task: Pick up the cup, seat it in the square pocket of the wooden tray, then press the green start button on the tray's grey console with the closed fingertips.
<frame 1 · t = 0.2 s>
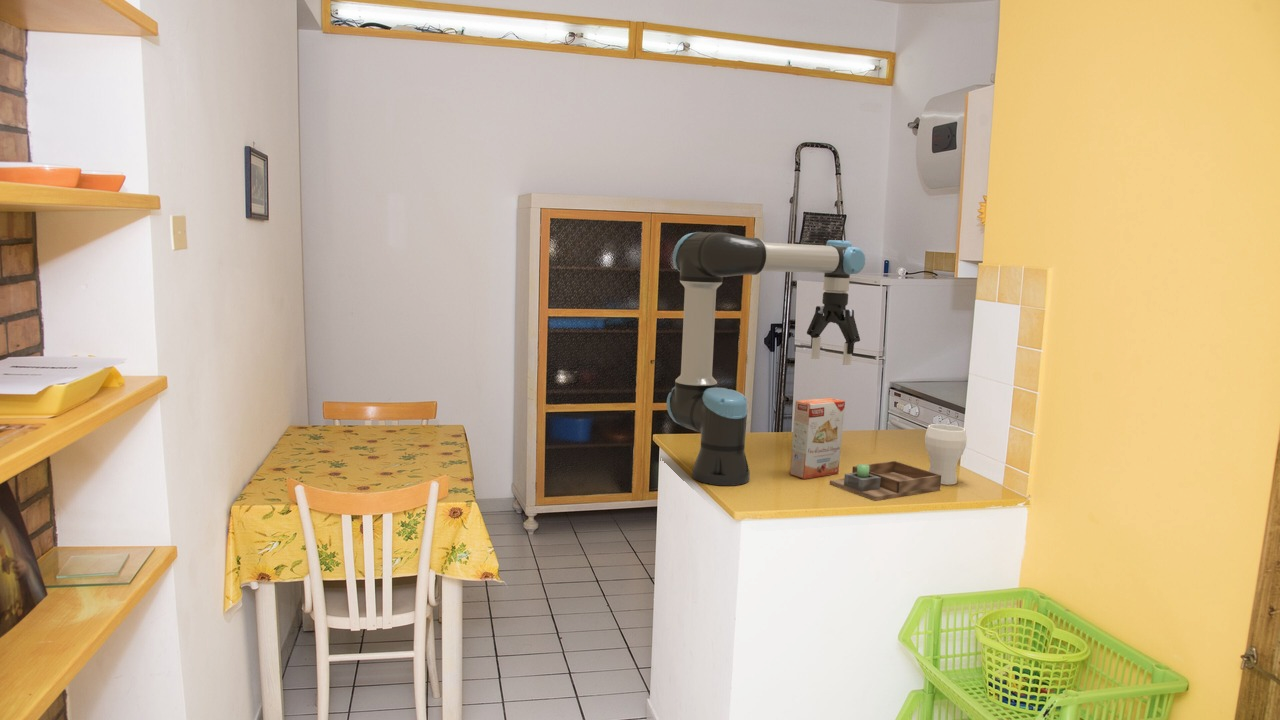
hand: (830, 361, 258), 28 cm above the table, fingers open, 13 cm apart
cup: (941, 481, 232), on the table
cracker box: (814, 475, 234), on the table
wooden tray: (884, 487, 224), on the table
start button: (862, 472, 219), point 5 cm above the table, slide at 0.0 cm
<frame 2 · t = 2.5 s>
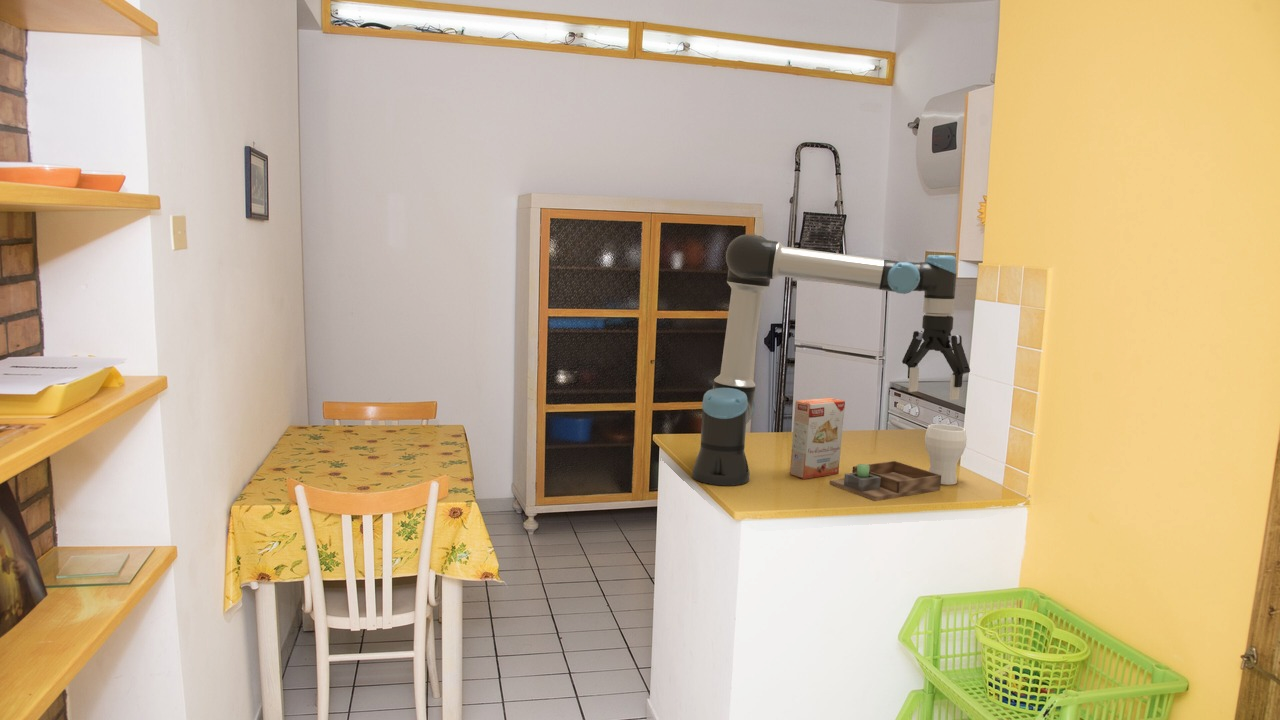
hand: (933, 395, 223), 25 cm above the table, fingers open, 13 cm apart
nothing on the table moved.
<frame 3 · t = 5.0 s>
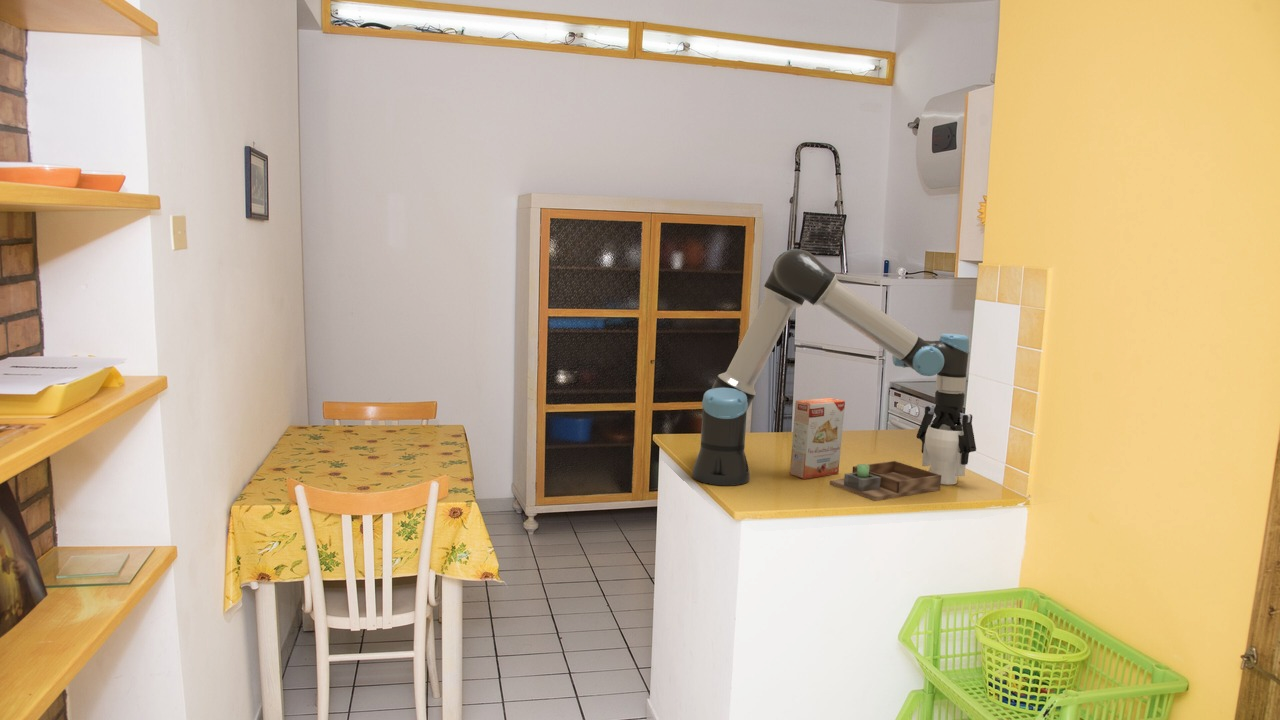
hand: (942, 470, 232), 3 cm above the table, fingers closed on cup, 11 cm apart
cup: (941, 481, 232), on the table, touching gripper
everything else where it was.
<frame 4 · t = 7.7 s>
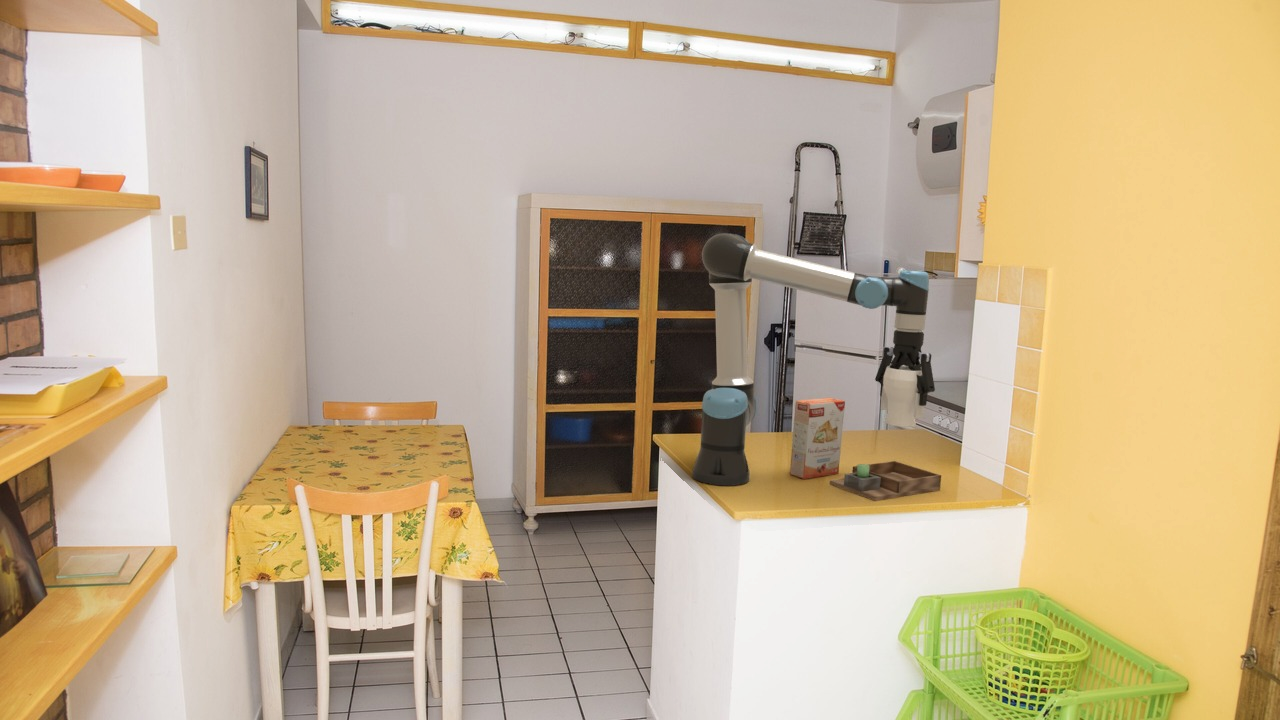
hand: (901, 413, 224), 20 cm above the table, fingers closed on cup, 11 cm apart
cup: (900, 425, 224), point 16 cm above the table, touching gripper
everything else where it was.
when the fingers open (7 cm above the table, at t = 10.8 s): cup drops 3 cm, resting on wooden tray.
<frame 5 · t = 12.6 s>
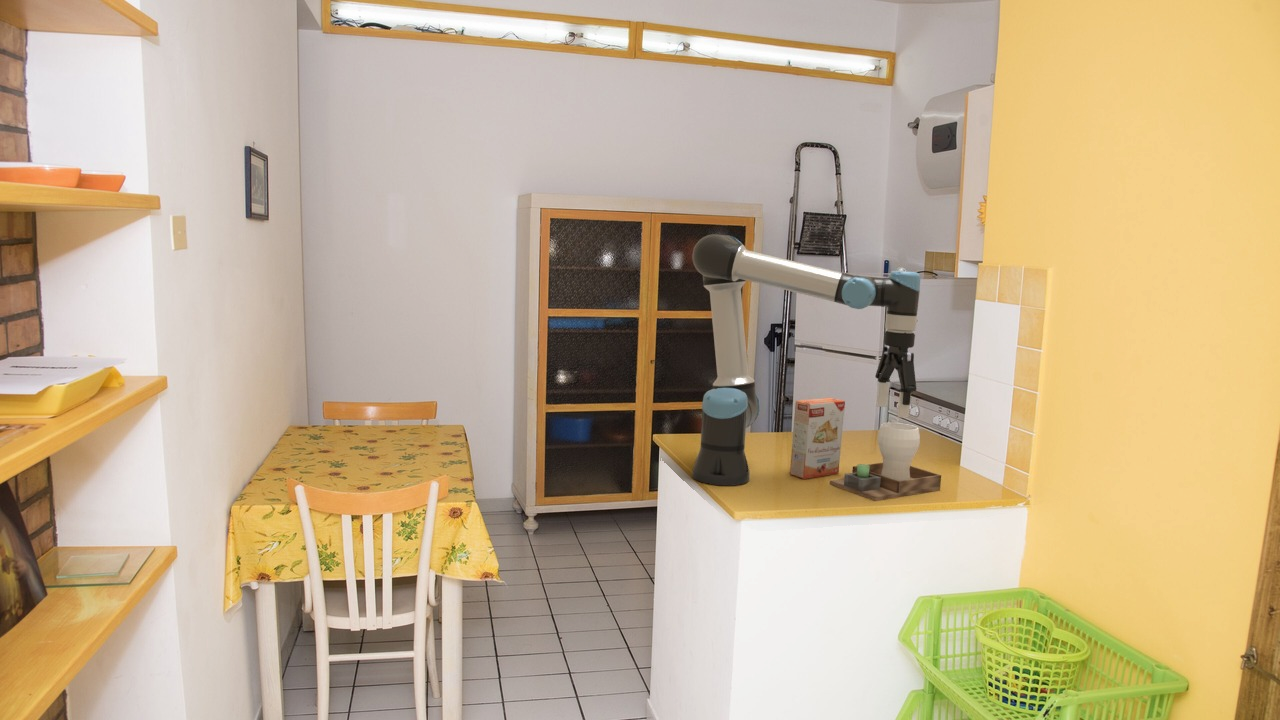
hand: (892, 411, 222), 20 cm above the table, fingers open, 13 cm apart
cup: (894, 482, 226), point 1 cm above the table, touching wooden tray
everything else where it was.
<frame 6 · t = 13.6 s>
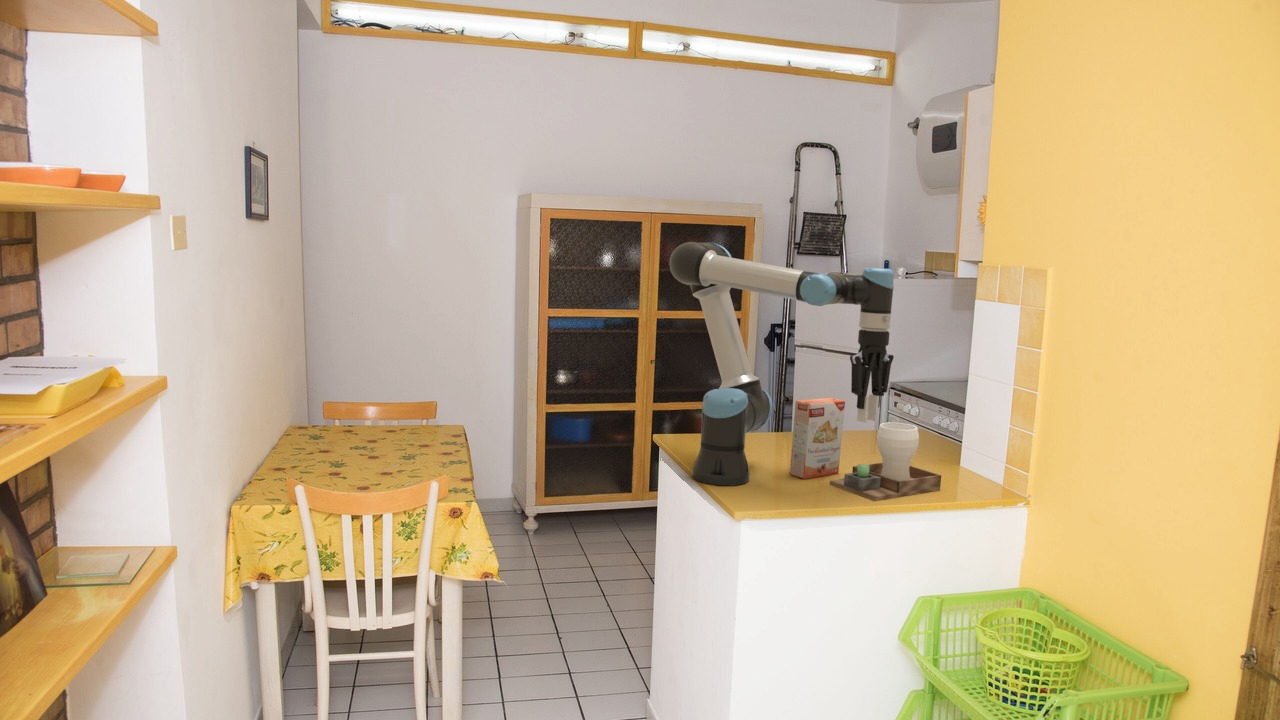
hand: (867, 420, 217), 19 cm above the table, fingers open, 3 cm apart
nothing on the table moved.
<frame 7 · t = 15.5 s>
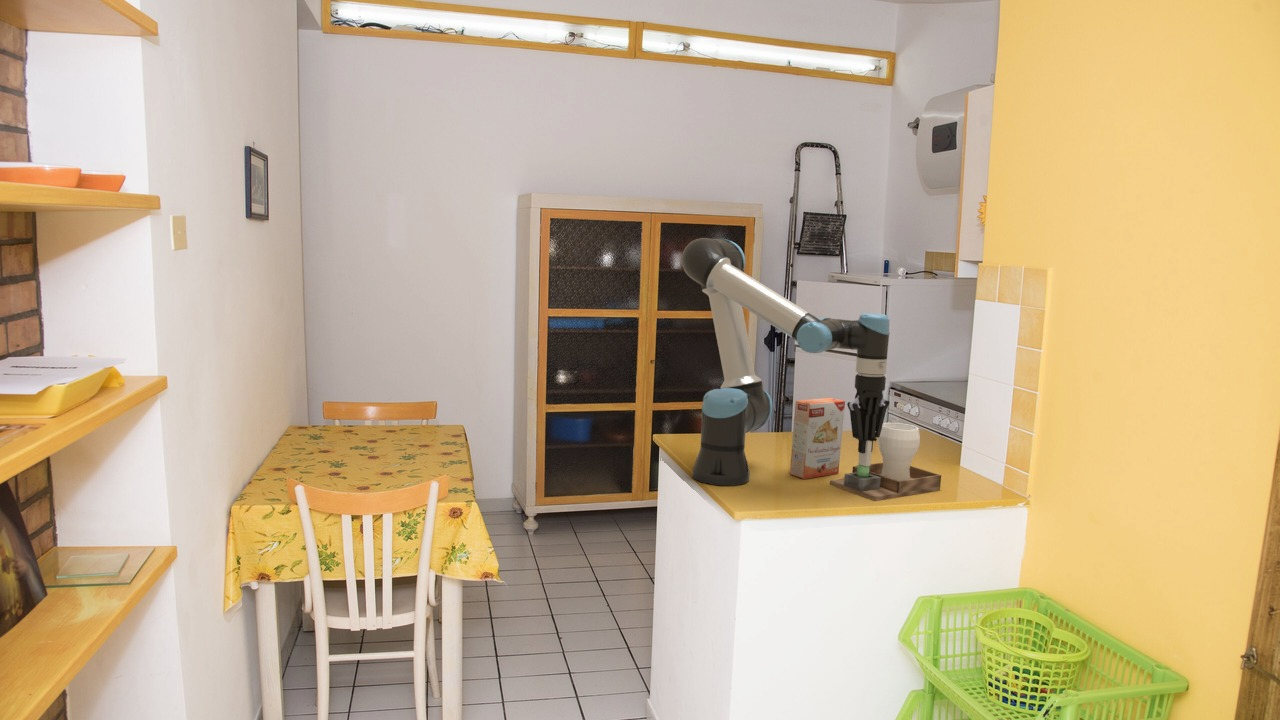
hand: (864, 464, 218), 7 cm above the table, fingers closed
start button: (862, 472, 219), point 5 cm above the table, slide at 0.1 cm, touching gripper
everything else where it was.
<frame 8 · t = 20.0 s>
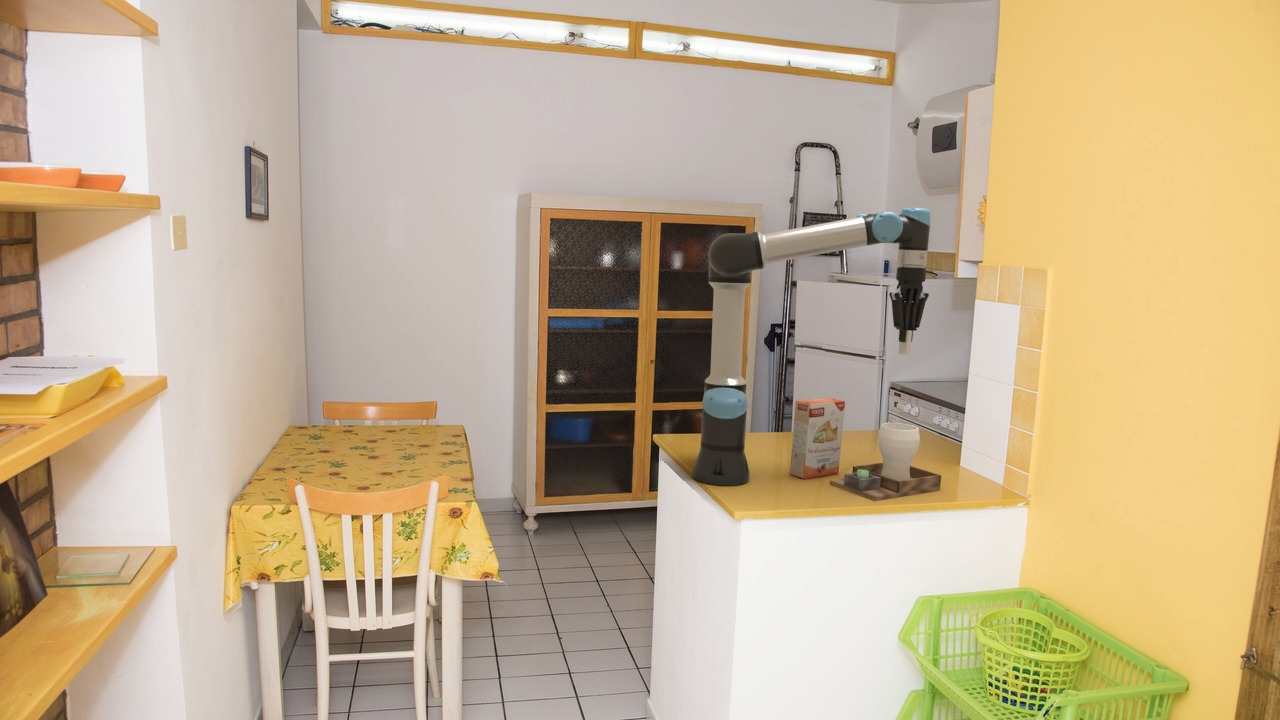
hand: (904, 354, 229), 34 cm above the table, fingers closed
start button: (862, 477, 219), point 3 cm above the table, slide at 1.5 cm
everything else where it was.
at the end: cup inside the target area on the wooden tray (0.2 cm from its centre), point 0.8 cm above the wooden tray's base; cup tilted 0°; start button slide at 1.5 cm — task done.
